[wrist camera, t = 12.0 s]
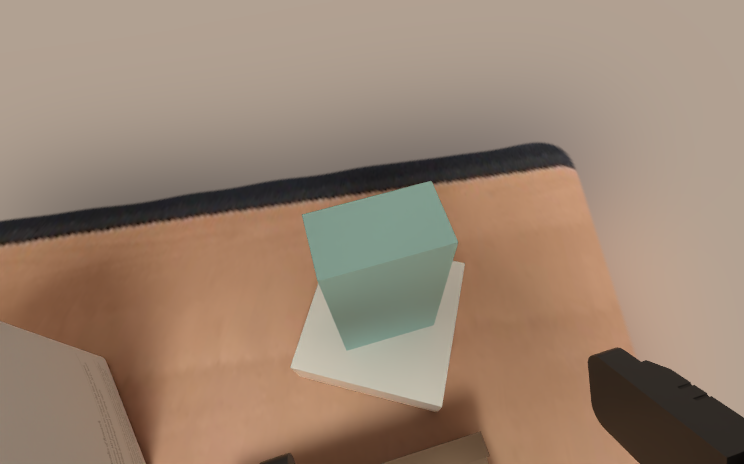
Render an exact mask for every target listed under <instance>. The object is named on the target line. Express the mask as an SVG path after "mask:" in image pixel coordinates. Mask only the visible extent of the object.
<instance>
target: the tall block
mask: <svg viewBox="0 0 744 464" xmlns="http://www.w3.org/2000/svg"><path fill="white" fill-rule="evenodd" d="M302 217H303V222H304V226H305V230H306V234H307V239H308V243H309V247H310V251H311V255H312V260H313V264H314V268H315V272H316V277H317V281H318V284H319V286H320V288H321V291H322V293H323V295H324V298H325V300H326V303H327V305H328V307H329V310H330V312H331V315H332V317H333V319H334V322H335V324H336V327H337V329H338V331H339V334H340V336H341V339H342V341H343V343H344V346H345V348H346V351H348V350H351V349H354V348H358V347H361V346H365V345H368V344H371V343H375V342H378V341H382V340H385V339H388V338H392V337H395V336H399V335H402V334H405V333H409V332H412V331H415V330H419V329H422V328H426V327H429V326H432V325H434V323H435V319H436V316H437V313H438V309H439V306H440V302H441V299H442V296H443V292H444V289H445V285H446V282H447V279H448V275H449V272H450V269H451V265H452V262H453V258H454V255H455V252H456V248H457V245H458V241H457V238H456V236H455V234H454V231H453V229H452V227H451V225H450V222H449V220H448V218H447V215H446V213H445V211H444V208H443V206H442V204H441V201H440V199H439V197H438V195H437V192H436V190H435V188H434V185H433V183H432V181H429V182H425V183H421V184H417V185H414V186H410V187H406V188H402V189H398V190H394V191H391V192H387V193H383V194H379V195H375V196H371V197H368V198H364V199H360V200H356V201H352V202H349V203H345V204H341V205H337V206H333V207H329V208H326V209H322V210H318V211H314V212H310V213H306V214H303V215H302Z"/></svg>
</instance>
